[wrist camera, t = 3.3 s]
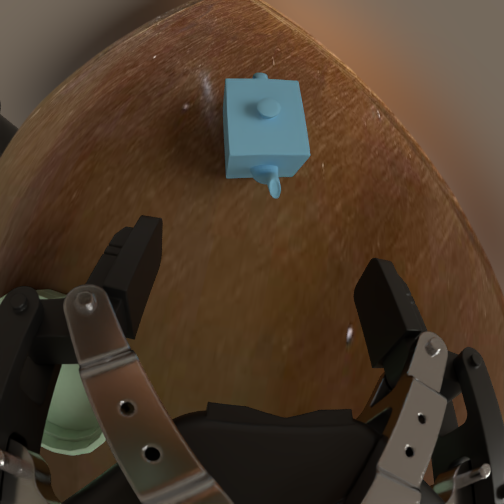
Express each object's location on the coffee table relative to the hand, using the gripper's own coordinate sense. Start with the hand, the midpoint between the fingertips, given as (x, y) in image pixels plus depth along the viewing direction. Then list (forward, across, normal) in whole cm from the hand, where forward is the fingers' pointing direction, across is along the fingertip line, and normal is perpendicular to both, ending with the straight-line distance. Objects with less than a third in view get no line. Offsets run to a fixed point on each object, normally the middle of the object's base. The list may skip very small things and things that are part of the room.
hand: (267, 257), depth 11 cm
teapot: (+19, 0, +3) cm, 19 cm away
